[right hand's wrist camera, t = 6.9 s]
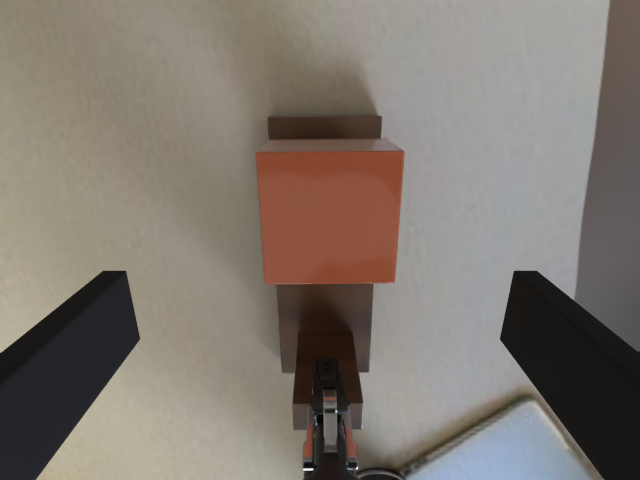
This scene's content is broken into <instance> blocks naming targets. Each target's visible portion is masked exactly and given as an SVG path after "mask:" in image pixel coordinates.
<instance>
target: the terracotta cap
mask: <svg viewBox="0 0 640 480" xmlns="http://www.w3.org/2000/svg"><path fill="white" fill-rule="evenodd" d="M404 153H405V152H404V151H403V150H402V149H400V148H399V147H397V146H396V145H394V144H393V143H391V142H390V141H388V140H387V139H385V138H369V139H270V140H268V141H267V142H266V143H265V144H264V145H263V146H262V147H261V148H260V149H259V150H258V151H257V152H256V166H257V180H258V195H259V209H260V223H261V238H262V252H263V267H264V281H265V284H348V283H394V282H395V274H396V260H397V247H398V234H399V220H400V207H401V193H402V180H403V166H404Z"/></svg>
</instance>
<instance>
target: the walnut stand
mask: <svg viewBox="0 0 640 480" xmlns="http://www.w3.org/2000/svg"><path fill="white" fill-rule="evenodd" d="M381 124H382V116H379V115H311V116H270V117H268V131H269V140H270V139H369V138H381ZM277 293H278V311H279V328H280V346H281V364H282V373H295V378H294V391H293V426H294V430H307V410H308V408H309V407H310V400H312V396H313V395H312V389H313V384H312V377H313V373H315V361H316V360H317V359H319V358H335V359H337V360H338V364H339V373H341V372H343V377H345V386H346V391H347V396H348V399H349V400H350V407H349V409H350V415H351V427H352V429H362V422H363V398H362V391H361V384H360V378H359V372H369V361H370V341H371V321H372V302H373V283H348V284H277ZM317 425H318V424H317ZM342 427H343V426H342ZM315 428H316V426H315V427H314V430H315ZM343 429H344V427H343Z"/></svg>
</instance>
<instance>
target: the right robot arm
mask: <svg viewBox="0 0 640 480" xmlns="http://www.w3.org/2000/svg"><path fill="white" fill-rule="evenodd" d="M139 340H140V336H139V332H138V327H137V322H136V317H135V312H134V307H133V303H132V298H131V293H130V288H129V283H128V278H127V273H126V271H102V272H101V273H100V274H99V275H98V276H96V277H95V278H94V279H93V280H91V281H90V282H89V283H88V284H86V285H85V286H84V287H83V288H81V289H80V290H79V291H78V292H76V293H75V294H74V295H73V296H71V297H70V298H69V299H68V300H66V301H65V302H64V303H63V304H61V305H60V306H59V307H58V308H56V309H55V310H54V311H53V312H51V313H50V314H49V315H48V316H46V317H45V318H44V319H43V320H41V321H40V322H39V323H38V324H37V325H35V326H34V327H33V328H32V329H30V330H29V331H28V332H27V333H25V334H24V335H23V336H22V337H20V338H19V339H18V340H17V341H15V342H14V343H13V344H12V345H10V346H9V347H8V348H7V349H5V350H4V351H3V352H2V353H0V480H36V479H37V477H38V476H39V475H40V473H41V472H42V471H43V469H44V468H45V467H46V465H47V464H48V462H49V461H50V460H51V458H52V457H53V456H54V454H55V453H56V452H57V450H58V449H59V448H60V446H61V445H62V444H63V442H64V441H65V440H66V438H67V437H68V436H69V434H70V433H71V432H72V430H73V429H74V427H75V426H76V425H77V423H78V422H79V421H80V419H81V418H82V417H83V415H84V414H85V413H86V411H87V410H88V409H89V407H90V406H91V405H92V403H93V402H94V401H95V399H96V398H97V397H98V395H99V394H100V392H101V391H102V390H103V388H104V387H105V386H106V384H107V383H108V382H109V380H110V379H111V378H112V376H113V375H114V374H115V372H116V371H117V370H118V368H119V367H120V366H121V364H122V363H123V361H124V360H125V359H126V357H127V356H128V355H129V353H130V352H131V351H132V349H133V348H134V347H135V345H136V344H137V343H138V341H139ZM500 340H501V341H502V343H503V344H504V345H505V347H506V348H507V349H508V351H509V352H510V353H511V355H512V356H513V357H514V359H515V360H516V361H517V363H518V364H519V366H520V367H521V368H522V370H523V371H524V372H525V374H526V375H527V376H528V378H529V379H530V380H531V382H532V383H533V384H534V386H535V387H536V388H537V390H538V391H539V392H540V394H541V395H542V397H543V398H544V399H545V401H546V402H547V403H548V405H549V406H550V407H551V409H552V410H553V411H554V413H555V414H556V415H557V417H558V418H559V419H560V421H561V422H562V423H563V425H564V426H565V427H566V429H567V430H568V432H569V433H570V434H571V436H572V437H573V438H574V440H575V441H576V442H577V444H578V445H579V446H580V448H581V449H582V450H583V452H584V453H585V454H586V456H587V457H588V458H589V460H590V461H591V462H592V464H593V465H594V467H595V468H596V469H597V471H598V472H599V473H600V475H601V476H602V477H603V479H604V480H640V352H637V351H636V350H635V349H633V348H632V347H631V346H630V345H628V344H627V343H626V342H625V341H623V340H622V339H621V338H620V337H618V336H617V335H616V334H615V333H613V332H612V331H611V330H610V329H608V328H607V327H606V326H605V325H603V324H602V323H601V322H600V321H598V320H597V319H596V318H595V317H594V316H592V315H591V314H590V313H589V312H587V311H586V310H585V309H584V308H582V307H581V306H580V305H579V304H577V303H576V302H575V301H574V300H572V299H571V298H570V297H569V296H567V295H566V294H565V293H564V292H562V291H561V290H560V289H559V288H557V287H556V286H555V285H554V284H552V283H551V282H550V281H549V280H547V279H546V278H545V277H544V276H542V275H541V274H540V273H539V272H537V271H514V273H513V278H512V283H511V288H510V293H509V298H508V303H507V307H506V312H505V317H504V322H503V327H502V332H501V336H500Z"/></svg>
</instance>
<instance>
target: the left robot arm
mask: <svg viewBox="0 0 640 480" xmlns="http://www.w3.org/2000/svg"><path fill="white" fill-rule="evenodd" d="M312 384H313V389H312V395H313V396H312V400H310V407H309V408H308V410H307V439H306V441H305V442H304V444H303V471H304V479H303V480H405V479H404V478H403V477H402V476H400V475H399V474H397V473H395V472H393V471H390V470H385V469H370V470H366V471H362V472H360V473H357V474H356V473H355V470H358V456H357V446H356V443H355V441H354V440H353V438H352V427H351V415H350V409H349V407H350V400H349V399H348V396H347V391H346V386H345V377H343V372H341V373H339V364H338V360H337V359H335V358H319V359H317V360H316V361H315V373H313V377H312ZM317 424H318V425H317ZM315 426H316V428H315V430H314V427H315ZM342 426H343V427H344V430H343V427H342Z"/></svg>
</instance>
